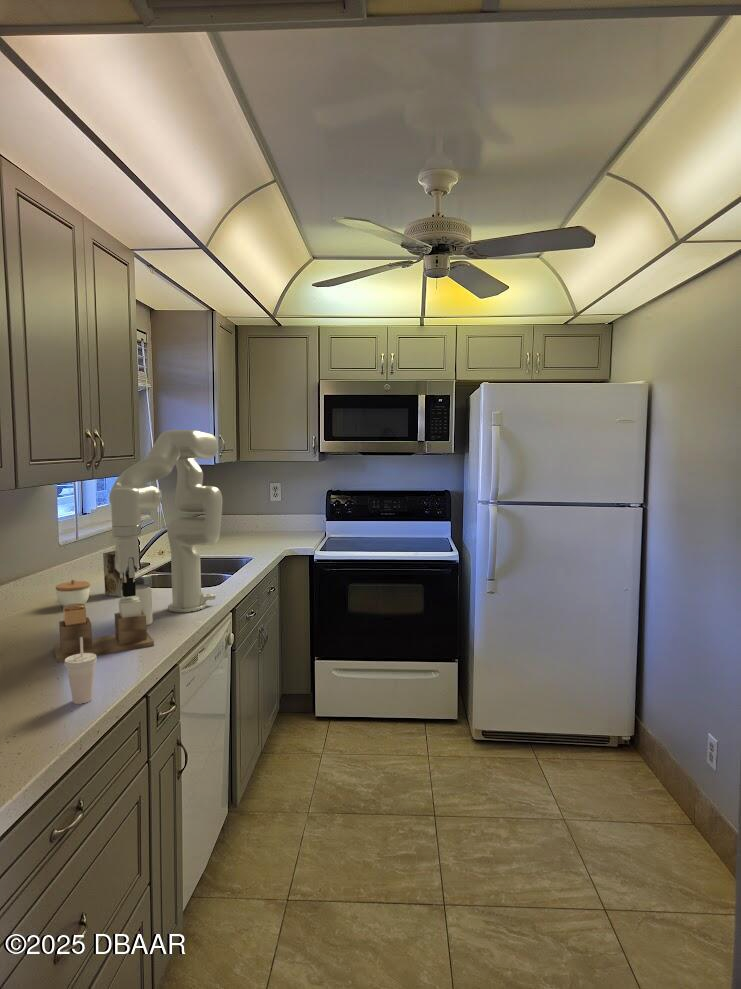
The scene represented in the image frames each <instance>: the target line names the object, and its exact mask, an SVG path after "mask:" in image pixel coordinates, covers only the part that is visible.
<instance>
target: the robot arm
mask: <svg viewBox="0 0 741 989" xmlns="http://www.w3.org/2000/svg"><path fill="white" fill-rule="evenodd" d="M218 450H219V443H218V439H217V438H216V437H215V435H214V434H212V433H208V432H204V431H200V430H194V429H168V430H165V431H163V432H161V433H160V434H159V436H158V437H157V439H156V441H155V442H154V443H153V446H151V449H150V450H149V452H148V454H147V456H146V457H145V458H144V459H142V460H140V461H138V462H136V463H135V464H133V465H132V466H130V467H128V468H127V469H125V470H124V471H122V473H121V474H120V475H119V476H118V477H117V478H116V480H115V482H114V483H113V485H112V487H111V489H110V491H109V498H108V499H109V503H110V505H111V507H110V508H111V509H110V510H111V530H112V531H111V532H112V533H111V534H112V536H111V537H112V539H115V548H114V551H115V568H116V570H117V571H118V572H119V573H120V574H122V580H123V582H122V590H123V597H129V596H135V595H136V588H135V585H136V573H138V572H139V569H140V559H139V558H140V556H139V540H138V539H139V538H140V537H141V536H142V517H141V516H142V515H141V514H142V513H141V512H146V511H147V512H151V511H154V510H156V509H157V508H159V507H160V505H161V504H162V501H163V500H162V499H163V498H162V497H163V495H162V492H161V490H160V489H159V488H158V487H156V486H154V485H151V484H148V483H151V482H155V481H158V480H160V479H163V478H166V477H167V476H169V475H170V474H171V473H172V471H173V469H174V467H176V471H177V477H176V478H177V479H176V488H175V498H174V499H175V500H174V504H175V505H174V507H175V509H176V510H177V511H178V512H179V513H185V514H204V516H177V517H174V518H172V519H171V520H170V521H169V522H168V524H167V527H166V534H167V538H168V543H169V547H170V560H171V561H170V562H171V568H170V569H171V590H172V591H171V592H172V594H171V595H172V597H171V598H172V602H171V603H170V604H168V605H167V610H168V611H170V612H173V613H190V612H191V611H193V612H197V610H198V611H200V609H201V610H203V609H205V608H206V607H207V601H212V600H216V594H215V593H213V594H212V593H211V594H210V593H205V594H204V593H203V592H202V578H201V576H202V575H201V574H202V573H201V568H202V567H201V556H200V553H199V551H198V550H197V548H196V547H195V546H212V545H215V544H217V542H218V541H219V540H220V536H221V529H222V528H221V526H222V516H223V494H222V492H221V490H220V489H219V487H216V486H214V485H213V486H212V485H203V482H204V472H203V470H202V467H201V466H200V465H199V463H198V462H197V459H198V460H201V459H202V460H203V459H204V460H205V459H207V460H208V459H213V458H215V456H216V455H217V454H218ZM191 613H192V612H191Z"/></svg>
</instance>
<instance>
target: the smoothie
mask: <svg viewBox="0 0 741 989" xmlns="http://www.w3.org/2000/svg"><path fill="white" fill-rule="evenodd" d="M97 656H98V655H97ZM97 656H96V655H95V654H93V653H83V637H80V654H75V655H72V656H69V657H67V658H66V659H65V661H64V667H66V673H67V677H68V682H69V687H70V694H71V697H72V704H75V705H83V704H82V703H85V704H87V703H86V702H88V703H90V702H91V701H92V700H93V694H94V692H93V691H94V680H95V679H94V678H95V670H96V662H97V661H98V658H97ZM91 699H92V700H91ZM90 700H91V701H90ZM89 701H90V702H89Z"/></svg>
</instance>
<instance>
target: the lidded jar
mask: <svg viewBox="0 0 741 989" xmlns="http://www.w3.org/2000/svg"><path fill="white" fill-rule="evenodd" d="M90 591H91V583H90V581H85V580H77V581H75V579H71V580H70V581H68V582H61V583H59V584H57V585H55V592H56V598H57V601H58V602H59V604H60V605H61V606H62V607H64V606H66V605H69V604H75V603H82V604H86V603H87V601H88V600H89V598H90V595H91V594H90V593H91V592H90Z"/></svg>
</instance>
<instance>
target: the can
mask: <svg viewBox="0 0 741 989" xmlns="http://www.w3.org/2000/svg"><path fill="white" fill-rule="evenodd" d="M135 588H136V595H135V596H137V597H139V600H140V601H141V610H142V611H143V612H144V614H145V615H146V627H148V626H150V625H152V623H153V621H154V620H153V598H152V596H153V594H152V589H151V586H150V584H135ZM147 625H148V626H147Z"/></svg>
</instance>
